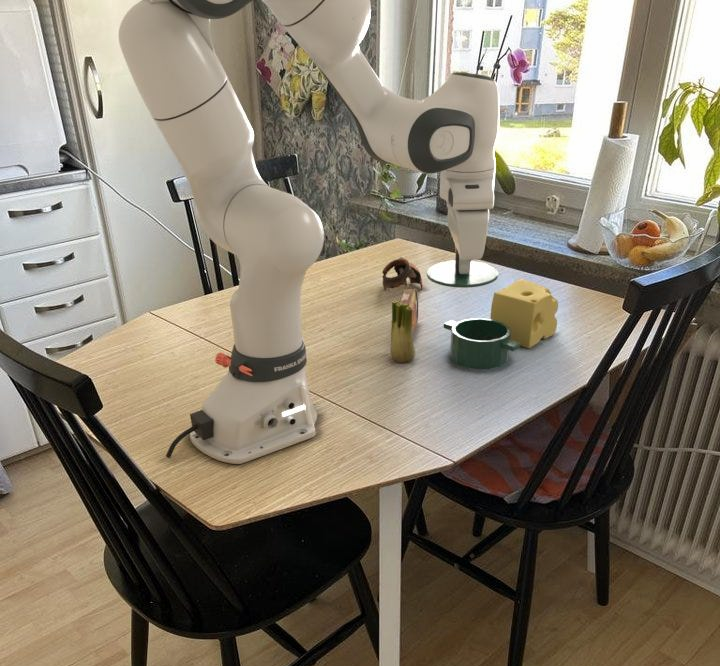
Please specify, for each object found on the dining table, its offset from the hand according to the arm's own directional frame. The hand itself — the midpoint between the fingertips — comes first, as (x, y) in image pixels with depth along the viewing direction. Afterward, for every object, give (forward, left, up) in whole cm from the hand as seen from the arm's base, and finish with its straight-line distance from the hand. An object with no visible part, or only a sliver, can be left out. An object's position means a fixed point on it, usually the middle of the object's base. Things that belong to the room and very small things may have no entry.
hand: (462, 268), depth 125 cm
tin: (+10, +21, -21) cm, 31 cm away
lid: (0, 0, -1) cm, 1 cm away
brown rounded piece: (+30, +40, -21) cm, 54 cm away
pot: (+10, +2, -21) cm, 23 cm away
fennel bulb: (-1, +13, -21) cm, 25 cm away
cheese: (+25, +2, -21) cm, 33 cm away
